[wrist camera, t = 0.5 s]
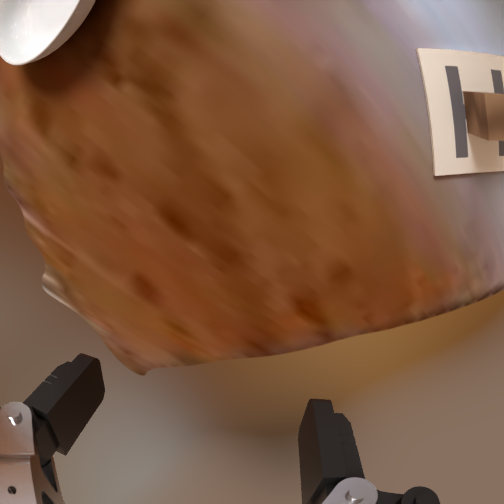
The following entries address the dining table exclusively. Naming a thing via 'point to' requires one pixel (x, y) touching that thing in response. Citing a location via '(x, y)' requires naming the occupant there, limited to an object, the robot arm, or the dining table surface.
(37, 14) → the serving bowl
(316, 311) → the dining table surface
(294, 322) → the dining table surface
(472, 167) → the letter card
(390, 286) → the dining table surface
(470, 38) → the dining table surface
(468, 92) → the walnut block
